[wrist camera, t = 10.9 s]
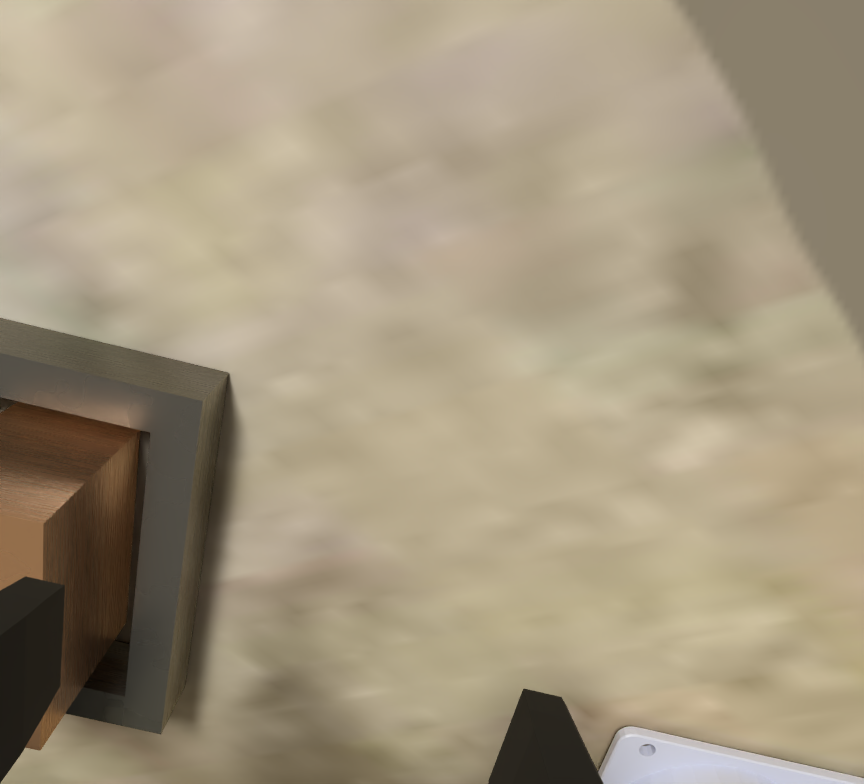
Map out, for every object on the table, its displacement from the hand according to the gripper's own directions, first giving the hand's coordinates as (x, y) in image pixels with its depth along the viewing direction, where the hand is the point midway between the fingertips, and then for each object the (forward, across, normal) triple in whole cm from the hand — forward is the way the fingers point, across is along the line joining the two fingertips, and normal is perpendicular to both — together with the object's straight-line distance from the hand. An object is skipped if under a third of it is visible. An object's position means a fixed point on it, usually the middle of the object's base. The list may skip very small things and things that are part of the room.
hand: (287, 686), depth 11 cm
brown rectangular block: (+10, +8, +5) cm, 13 cm away
